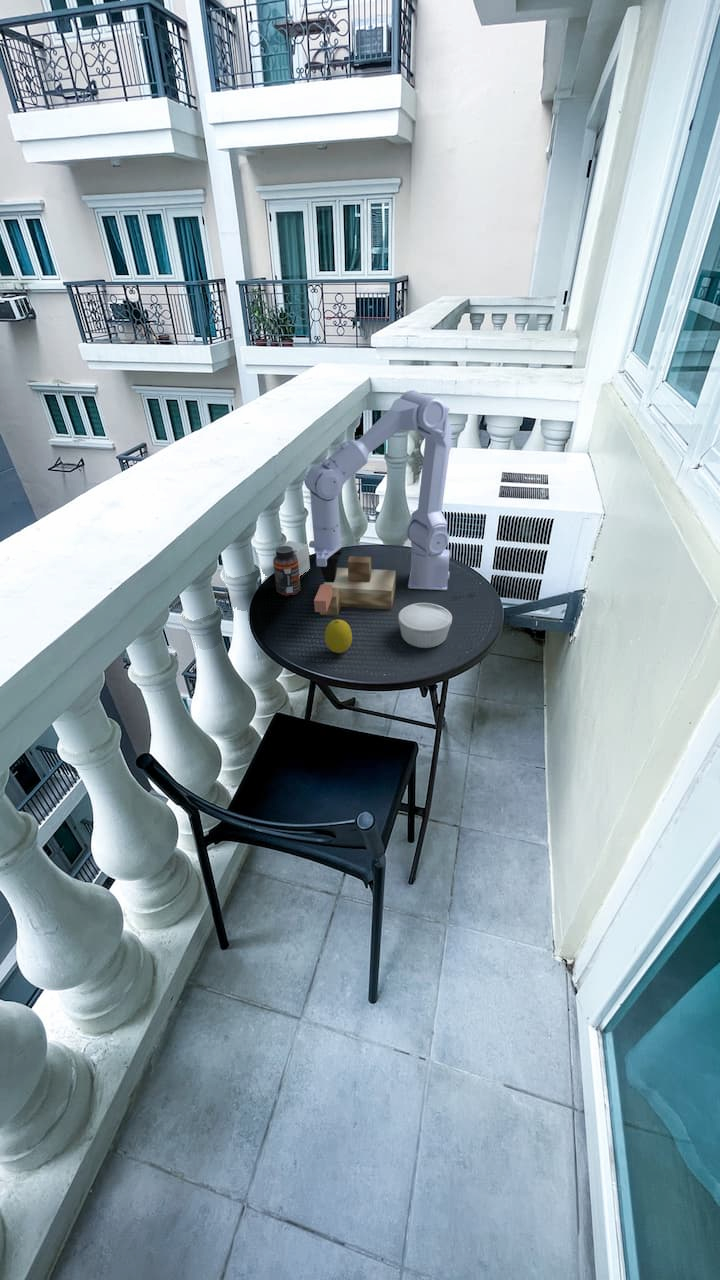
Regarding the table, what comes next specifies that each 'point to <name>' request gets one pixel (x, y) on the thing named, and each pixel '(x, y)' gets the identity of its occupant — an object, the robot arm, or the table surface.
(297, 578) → the supplement bottle
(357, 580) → the lid
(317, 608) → the reddish-pink rectangular block
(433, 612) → the ramekin
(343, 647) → the lemon
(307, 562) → the skincare box
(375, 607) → the beige wooden shallow box
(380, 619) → the table surface
